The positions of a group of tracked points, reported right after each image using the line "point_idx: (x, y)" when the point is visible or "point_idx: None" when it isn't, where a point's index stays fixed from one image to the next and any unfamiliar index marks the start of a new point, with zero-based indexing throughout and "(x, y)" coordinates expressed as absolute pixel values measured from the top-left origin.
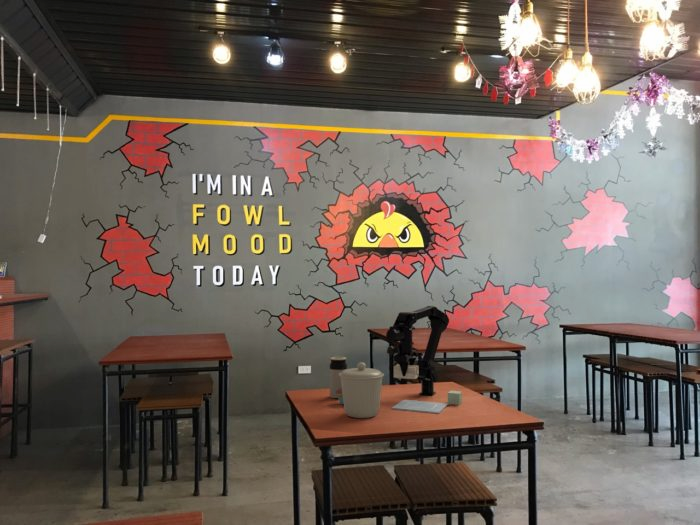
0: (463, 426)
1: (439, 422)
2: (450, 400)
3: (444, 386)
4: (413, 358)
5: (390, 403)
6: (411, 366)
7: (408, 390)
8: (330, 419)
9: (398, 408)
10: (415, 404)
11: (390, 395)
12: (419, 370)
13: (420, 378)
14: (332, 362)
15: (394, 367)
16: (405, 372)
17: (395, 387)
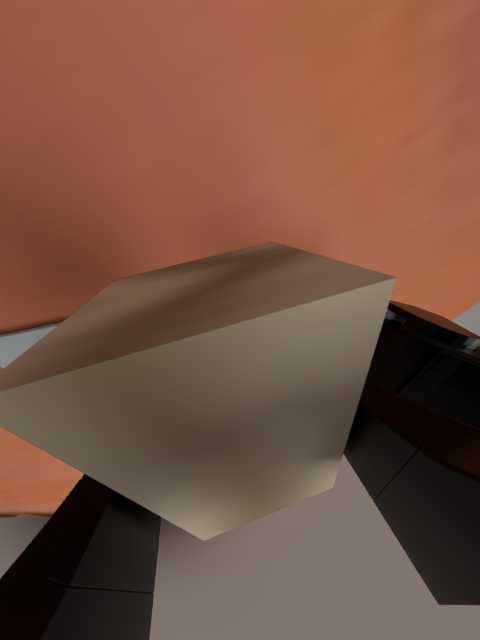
0: (54, 509)
1: (24, 485)
2: None
3: (442, 301)
4: (457, 601)
5: (71, 272)
6: (258, 498)
7: (379, 210)
8: None
9: (2, 366)
10: None
11: (242, 168)
12: (397, 370)
13: (389, 312)
14: None
15: (18, 391)
16: None
17: (455, 83)
